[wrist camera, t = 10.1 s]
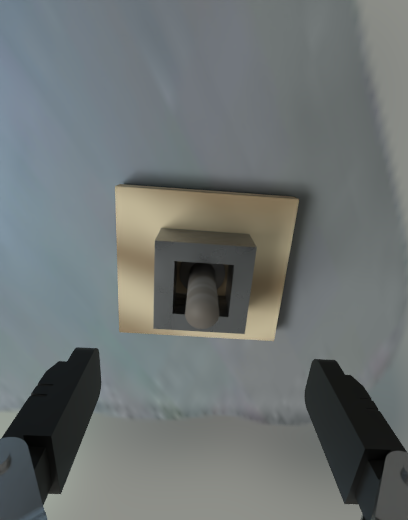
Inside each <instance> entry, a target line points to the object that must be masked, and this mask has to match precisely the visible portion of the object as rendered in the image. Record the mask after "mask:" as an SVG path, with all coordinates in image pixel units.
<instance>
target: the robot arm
mask: <svg viewBox="0 0 408 520" xmlns="http://www.w3.org/2000/svg"><path fill="white" fill-rule="evenodd" d="M100 389H101V372H100V358H99V350H98V349H97V348H78V347H77V348H75V350H74V351H73V353H72V354H71V356H70V358H69V359H68V361H67V362H62V361H59V362H57V363H56V364H55V365H54V366H52V367H51V368H50V369H49V370H47V371H46V372H45V374H44V375H43V377H42V378H41V380H40V381H39V383H38V386H36V387H35V389H34V390H33V392H32V393H31V396H29V398H28V399H27V401H26V402H25V404H24V405H23V407H22V408H21V410H20V411H19V413H18V414H17V416H16V417H15V419H14V420H13V422H12V423H11V425H10V426H9V428H8V430H7V431H6V432H5V434H4V435H3V437H2V438H1V439H0V520H47V516H46V513H45V511H44V508H43V505H44V502H45V500H46V498H47V495H48V494H61V492H62V490H63V487H64V484H65V482H66V479H67V477H68V474H69V472H70V469H71V467H72V464H73V462H74V459H75V457H76V454H77V452H78V449H79V446H80V444H81V441H82V439H83V436H84V434H85V431H86V428H87V426H88V424H89V421H90V419H91V416H92V414H93V411H94V408H95V406H96V403H97V401H98V398H99V394H100ZM305 404H306V408H307V410H308V413H309V415H310V418H311V420H312V423H313V426H314V428H315V431H316V433H317V435H318V438H319V440H320V443H321V446H322V448H323V450H324V453H325V456H326V458H327V460H328V463H329V466H330V468H331V471H332V473H333V476H334V478H335V481H336V483H337V486H338V488H339V491H340V493H341V496H342V498H343V501H344V503H345V504H359V506H360V509H361V511H362V513H363V514H362V517H361V520H408V453H407V451H406V450H405V448H404V447H403V446H402V444H401V443H400V441H399V439H398V438H397V436H396V435H395V433H394V432H393V430H392V429H391V427H390V426H389V424H388V423H387V421H386V420H385V419H384V417H383V415H382V414H381V412H380V411H378V408H377V406H376V405H375V403H374V402H373V401H372V400H371V398H370V396H369V394H368V393H367V391H366V390H365V388H364V387H363V386H362V385H361V384H360V383H359V382H358V381H357V380H356V379H354V378H353V377H352V376H351V375H345V374H344V372H343V371H342V369H341V368H340V366H339V364H338V363H337V362H336V361H335V360H322V359H314V360H313V361H312V364H311V368H310V372H309V376H308V380H307V384H306V388H305Z"/></svg>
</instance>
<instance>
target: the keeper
mask: <svg viewBox="0 0 408 520" xmlns="http://www.w3.org/2000/svg"><path fill="white" fill-rule="evenodd" d="M115 197H116V232H117V266H118V300H119V332H127V333H145V334H162V335H179V336H197V337H214V338H232V339H249V340H267V341H274V338H275V332H276V326H277V321H278V315H279V310H280V304H281V298H282V293H283V287H284V282H285V276H286V271H287V265H288V259H289V254H290V248H291V243H292V237H293V231H294V226H295V220H296V215H297V209H298V203H299V199H297V198H296V197H291V196H278V195H264V194H250V193H236V192H222V191H208V190H194V189H180V188H166V187H153V186H139V185H125V184H119V185H117V186H115ZM161 228H171V229H185V230H200V231H214V232H229V233H244V234H250V236H251V238H252V240H253V241H254V243H255V245H256V247H257V250H256V257H255V264H254V271H253V278H252V286H251V293H250V300H249V307H248V314H247V322H246V329H245V334H234V333H217V332H200V331H183V330H166V329H153V316H154V256H155V239H156V237H157V235H158V233H159V231H160V229H161ZM227 273H228V265H227V264H211V263H196V262H180V261H178V262H177V285H176V293H187V300H186V310H185V317H186V320H187V322H188V323H189V324H190V325H191V326H193V327H195V328H198V329H206V328H210V327H212V326H213V325H214V324H215V323H216V322H217V321H218V318H219V306H218V296H217V295H220V296H225V292H226V283H227Z"/></svg>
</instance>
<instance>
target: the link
mask: <svg viewBox="0 0 408 520" xmlns="http://www.w3.org/2000/svg"><path fill="white" fill-rule="evenodd" d="M256 250H257V247H256V245H255V243H254V241H253V240H252V238H251V236H250V234H244V233H229V232H214V231H200V230H185V229H171V228H161V229H160V231H159V233H158V235H157V237H156V239H155V256H154V316H153V329H166V330H183V331H200V332H217V333H234V334H245V329H246V322H247V314H248V307H249V300H250V293H251V286H252V278H253V271H254V264H255V257H256ZM178 261H180V262H196V263H211V264H227V265H228V273H227V283H226V292H225V296H220V295H217V296H218V306H219V318H218V321H217V322H216V323H215V324H214V325H213V326H212V327H210V328H206V329H198V328H195V327H193V326H191V325H190V324H189V323H188V322H187V320H186V317H185V310H186V300H187V293H176V285H177V262H178Z"/></svg>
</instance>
